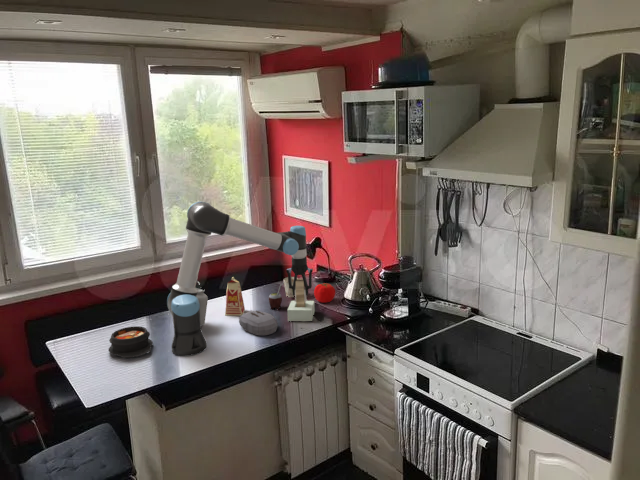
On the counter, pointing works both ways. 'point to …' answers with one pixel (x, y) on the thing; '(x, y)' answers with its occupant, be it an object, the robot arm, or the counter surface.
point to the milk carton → (234, 299)
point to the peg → (300, 293)
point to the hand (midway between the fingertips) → (300, 301)
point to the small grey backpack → (258, 323)
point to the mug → (288, 291)
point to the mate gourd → (275, 299)
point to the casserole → (130, 342)
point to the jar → (202, 304)
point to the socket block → (301, 311)
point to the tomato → (324, 292)
